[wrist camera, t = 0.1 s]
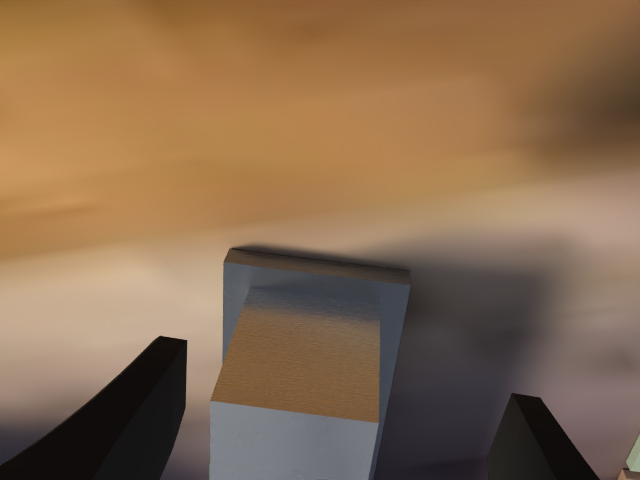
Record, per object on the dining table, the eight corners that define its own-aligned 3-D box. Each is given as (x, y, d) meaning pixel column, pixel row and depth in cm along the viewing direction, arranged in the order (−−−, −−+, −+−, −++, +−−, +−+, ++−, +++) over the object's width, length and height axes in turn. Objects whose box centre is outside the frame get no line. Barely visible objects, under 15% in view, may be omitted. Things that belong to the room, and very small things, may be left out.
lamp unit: (360, 532, 31) (354, 685, 25) (225, 513, 32) (187, 661, 26) (409, 271, 23) (418, 402, 17) (229, 248, 24) (175, 371, 18)
